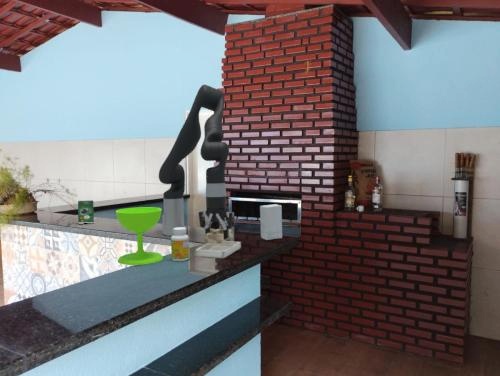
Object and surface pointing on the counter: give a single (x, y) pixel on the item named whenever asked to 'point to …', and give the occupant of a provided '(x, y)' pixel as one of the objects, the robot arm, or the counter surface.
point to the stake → (233, 234)
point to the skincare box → (271, 221)
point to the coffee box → (85, 211)
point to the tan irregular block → (217, 236)
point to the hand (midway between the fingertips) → (217, 238)
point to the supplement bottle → (180, 244)
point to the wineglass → (139, 232)
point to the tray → (218, 249)
